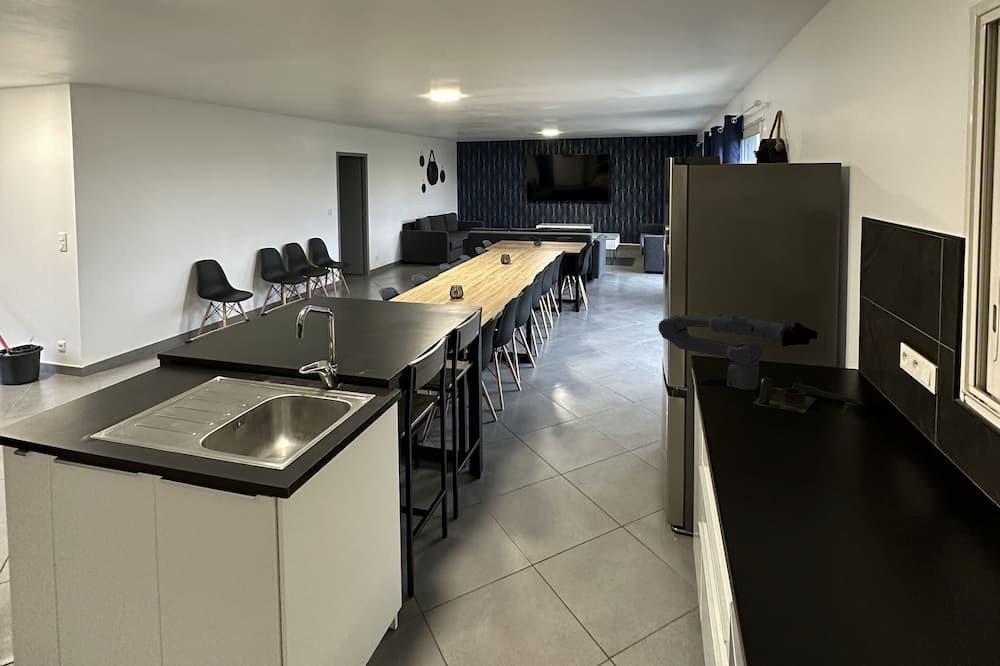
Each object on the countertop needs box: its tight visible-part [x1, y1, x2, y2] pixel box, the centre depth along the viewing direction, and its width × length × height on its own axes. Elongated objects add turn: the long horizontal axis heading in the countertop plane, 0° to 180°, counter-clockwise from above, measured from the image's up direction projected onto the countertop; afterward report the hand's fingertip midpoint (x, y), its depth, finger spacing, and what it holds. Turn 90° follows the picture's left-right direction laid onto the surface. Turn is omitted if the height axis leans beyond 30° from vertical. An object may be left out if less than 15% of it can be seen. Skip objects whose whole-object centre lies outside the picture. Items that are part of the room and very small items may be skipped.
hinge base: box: [752, 383, 817, 413], centre depth 203 cm, size 15×17×5 cm
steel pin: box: [759, 377, 772, 406], centre depth 200 cm, size 3×3×8 cm
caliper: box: [791, 379, 864, 406], centre depth 203 cm, size 20×1×6 cm, turn 71°
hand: (813, 338), depth 201 cm, fingers open, 7 cm apart
